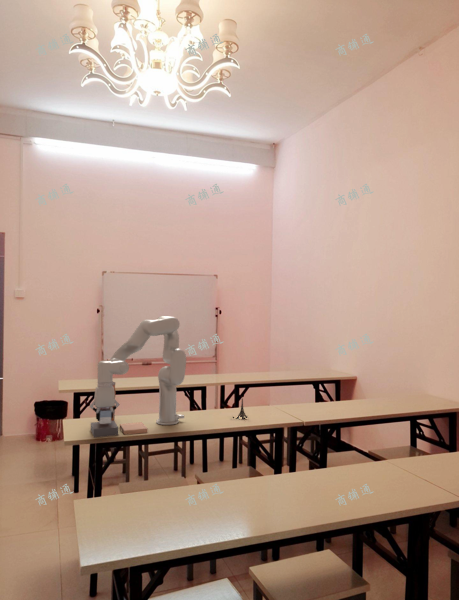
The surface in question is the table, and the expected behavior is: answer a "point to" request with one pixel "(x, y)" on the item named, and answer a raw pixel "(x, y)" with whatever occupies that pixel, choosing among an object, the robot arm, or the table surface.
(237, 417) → the eiffel tower figurine
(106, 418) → the housing
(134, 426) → the terracotta stand
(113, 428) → the charcoal stand
